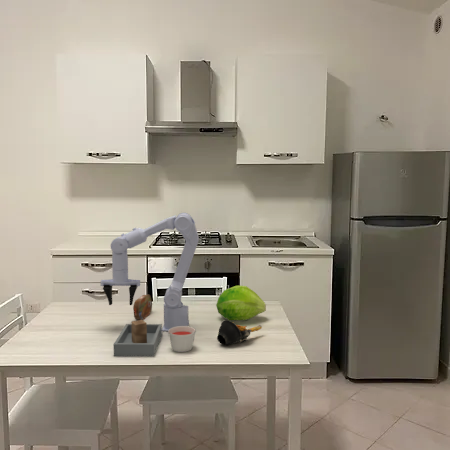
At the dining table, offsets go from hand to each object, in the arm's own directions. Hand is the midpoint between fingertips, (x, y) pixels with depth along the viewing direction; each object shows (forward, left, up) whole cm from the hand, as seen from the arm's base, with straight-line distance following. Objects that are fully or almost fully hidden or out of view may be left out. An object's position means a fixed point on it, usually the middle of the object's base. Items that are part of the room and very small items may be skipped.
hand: (120, 304), depth 178 cm
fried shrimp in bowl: (-45, +12, -10) cm, 47 cm away
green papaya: (-46, -12, -10) cm, 48 cm away
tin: (-6, -15, -10) cm, 18 cm away
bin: (-10, +16, -9) cm, 21 cm away
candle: (-25, +19, -10) cm, 33 cm away
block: (-10, +16, -8) cm, 21 cm away
